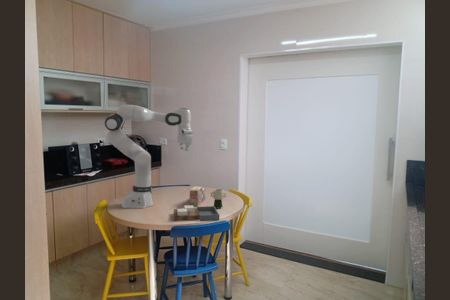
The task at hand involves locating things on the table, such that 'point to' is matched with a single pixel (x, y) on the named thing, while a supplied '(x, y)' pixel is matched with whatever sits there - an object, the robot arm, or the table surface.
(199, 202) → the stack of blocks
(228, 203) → the table surface
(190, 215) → the board
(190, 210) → the tile
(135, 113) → the robot arm
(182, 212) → the tile
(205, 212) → the box
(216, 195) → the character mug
